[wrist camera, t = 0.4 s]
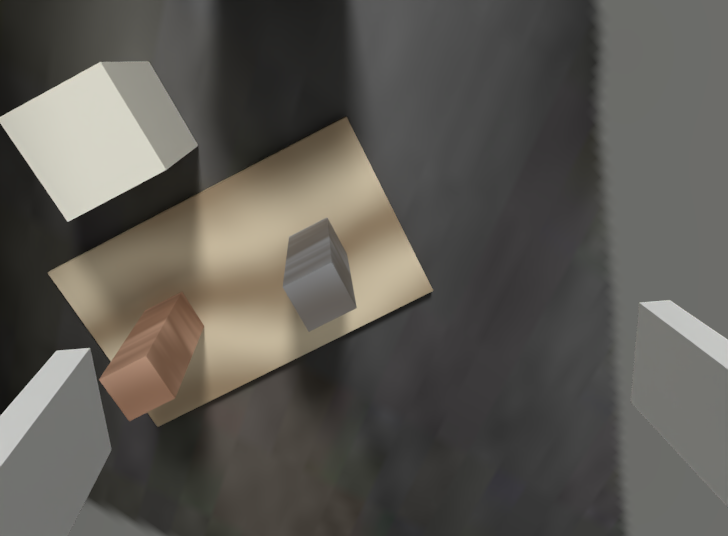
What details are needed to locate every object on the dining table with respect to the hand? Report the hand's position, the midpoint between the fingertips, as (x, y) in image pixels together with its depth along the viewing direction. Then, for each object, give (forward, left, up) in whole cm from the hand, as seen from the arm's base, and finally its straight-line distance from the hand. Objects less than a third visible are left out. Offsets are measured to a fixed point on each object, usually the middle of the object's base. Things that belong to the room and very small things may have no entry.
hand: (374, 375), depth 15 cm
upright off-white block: (-8, -9, -24) cm, 27 cm away
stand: (+3, -8, -24) cm, 26 cm away
